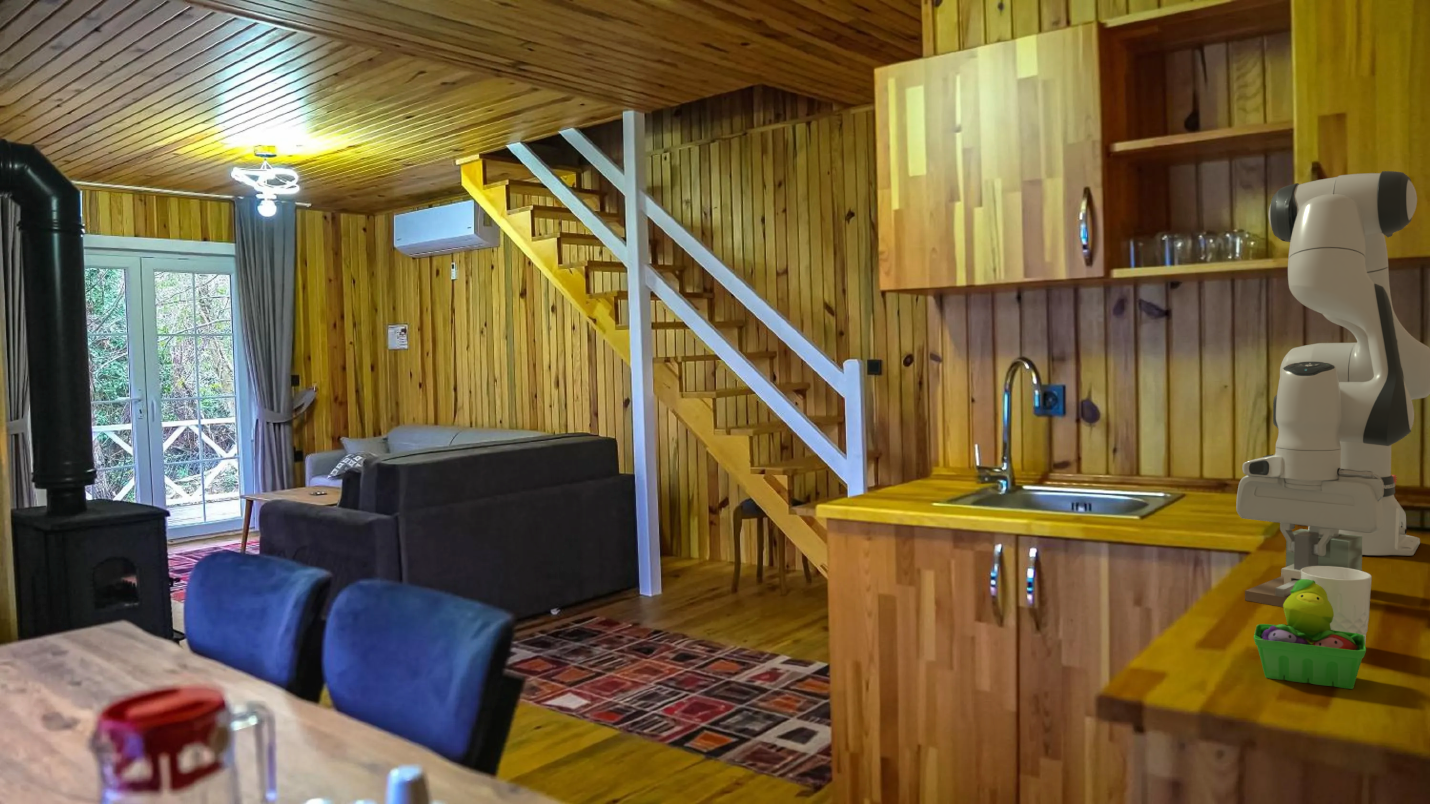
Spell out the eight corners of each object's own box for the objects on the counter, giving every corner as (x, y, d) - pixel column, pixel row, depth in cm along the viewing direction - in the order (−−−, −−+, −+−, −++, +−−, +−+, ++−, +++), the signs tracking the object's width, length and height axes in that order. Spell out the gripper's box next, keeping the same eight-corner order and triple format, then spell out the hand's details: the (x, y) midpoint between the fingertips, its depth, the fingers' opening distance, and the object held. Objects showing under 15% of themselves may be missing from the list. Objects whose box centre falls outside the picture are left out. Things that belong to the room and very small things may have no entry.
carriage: (1296, 577, 161) (1297, 529, 161) (1330, 582, 158) (1331, 533, 157) (1281, 583, 158) (1281, 534, 157) (1315, 589, 154) (1316, 538, 153)
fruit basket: (1252, 679, 120) (1253, 587, 119) (1257, 659, 128) (1257, 571, 127) (1365, 695, 114) (1367, 597, 113) (1363, 672, 122) (1365, 581, 121)
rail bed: (1297, 578, 168) (1297, 528, 167) (1365, 589, 160) (1365, 536, 160) (1245, 600, 155) (1245, 546, 155) (1315, 612, 148) (1316, 555, 147)
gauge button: (1313, 532, 165) (1313, 508, 165) (1347, 536, 161) (1347, 511, 161) (1300, 536, 162) (1301, 511, 162) (1335, 540, 158) (1335, 515, 158)
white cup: (1381, 658, 127) (1382, 580, 126) (1313, 656, 128) (1314, 579, 128) (1354, 640, 134) (1356, 566, 134) (1290, 638, 136) (1291, 565, 135)
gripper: (1391, 469, 150) (1389, 560, 151) (1249, 459, 166) (1248, 541, 167) (1376, 474, 146) (1375, 567, 147) (1232, 463, 162) (1231, 547, 163)
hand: (1306, 553), depth 157 cm, fingers closed on carriage, 2 cm apart
